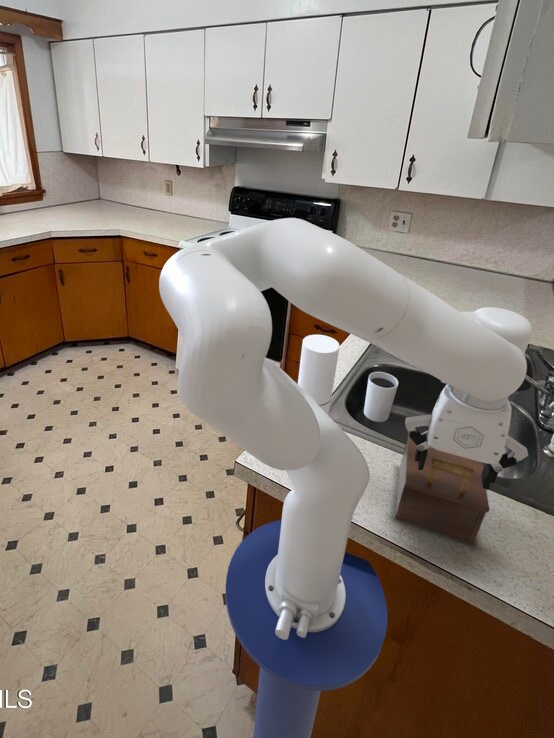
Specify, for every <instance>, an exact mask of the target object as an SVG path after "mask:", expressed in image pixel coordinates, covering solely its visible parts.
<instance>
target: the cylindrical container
mask: <svg viewBox="0 0 554 738" xmlns="http://www.w3.org/2000/svg"><path fill="white" fill-rule="evenodd" d="M339 352H340V343H339V342H338V341H337V340H336V339H335V338H333V337H331V336H328V335H324V334H309V335H307V336H305V337H303V338H302V344H301V351H300V360H299V369H298V378H297V384H298V385H299V386H300V387H301V388H302V389H303V390H304V391H305V392H306V393H308V394H309V395H310V396H311V397H312V398H313V399H314V400H315V401H316V402H317V403H318V405H319V406H320V407H321V408H322V409H323V410H324V411H325V412H326V413H327V414H328V415H329V416H330V409H331V403H332V396H333V389H334V384H335V379H336V371H337V364H338V357H339Z"/></svg>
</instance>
